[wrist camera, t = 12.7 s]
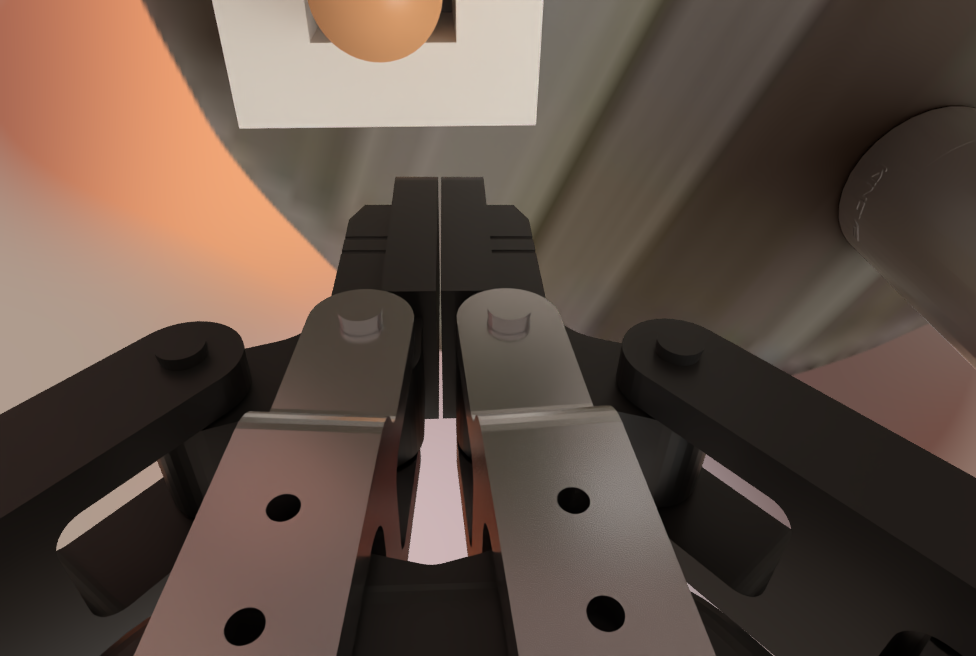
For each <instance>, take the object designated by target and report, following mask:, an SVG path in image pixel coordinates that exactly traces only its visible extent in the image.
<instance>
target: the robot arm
mask: <svg viewBox="0 0 976 656" xmlns="http://www.w3.org/2000/svg"><path fill="white" fill-rule="evenodd" d="M839 222H840V226H841V230H842V233H843V234H844V236H845V238H846V239H847V241H848V242H849V243H850V244H851V245H852V246H853V247H854V248H855V249H856V250H857V251H858V252H859V253H860V254H861V255H862V256H863V257H864V258H865V259H866V260H867V261H868V262H869V263H870V264H871V265H872V266H873V267H874V268H875V269H876V270H877V271H878V272H879V273H880V274H881V275H882V276H883V277H884V279H885V280H886V281H887V282H888V283H889V284H890V285H891V286H892V287H893V288H894V289H895V290H896V291H897V292H898V293H899V294H900V295H901V296H902V297H903V298H904V299H905V300H906V301H907V302H908V303H909V304H910V305H911V306H912V307H913V308H914V309H915V310H916V311H917V312H918V313H919V314H920V315H921V316H922V317H923V318H924V319H925V320H926V321H927V322H928V323H929V324H930V325H932V327H934V329H936V330H937V331H938V333H940V335H941V336H943V337H944V338H945V339H946V340H947V341H948V342H949V343H950V344H951V345H952V346H953V347H954V348H955V349H956V350H957V351H958V352H959V353H960V354H961V355H962V356H963V357H964V358H965V359H966V360H967V361H968V362H969V363H970V364H971V365H972V366H973V367H974V368H975V369H976V109H975V108H971V107H954V106H950V107H945V108H940V109H935V110H931V111H928V112H925V113H923V114H920V115H918V116H915V117H913V118H911V119H909V120H907V121H905V122H904V123H902V124H900V125H899V126H897V127H895V128H893V129H892V130H891V131H890V132H888V133H887V134H886V135H884V136H883V137H882V138H881V139H879V140H878V141H877V142H876V143H875V144H874V145H873V146H872V147H871V148H870V149H869V150H868V151H867V152H866V153H865V154H864V155H863V156H862V158H861V159H860V161H859V162H858V163H857V165H856V166H855V168H854V169H853V171H852V172H851V174H850V176H849V178H848V180H847V182H846V184H845V186H844V188H843V192H842V196H841V199H840V203H839ZM439 306H440V269H439V209H438V177H396V178H395V184H394V192H393V199H392V205H365V206H364V207H362V208H361V209H360V210H359V211H358V212H357V213H356V214H355V215H354V216H353V217H352V218H351V219H349V223H348V227H347V232H346V236H345V240H344V245H343V249H342V254H341V257H340V262H339V266H338V270H337V274H336V279H335V283H334V287H333V291H332V296H331V297H329V298H326V299H325V300H323V301H321V302H320V303H319V304H317V305H316V306H315V307H314V309H313V310H312V311H311V312H310V314H309V316H308V318H307V320H306V323H305V325H304V328H303V330H302V333H301V334H299V335H297V336H294V337H291V338H289V339H286V340H282V341H278V342H274V343H269V344H265V345H260V346H255V347H251V348H246V349H245V348H244V344H243V341H242V338H241V337H240V335H239V334H238V333H237V332H236V331H235V330H233V329H232V328H230V327H228V326H226V325H222V324H219V323H214V322H200V321H197V322H187V323H181V324H176V325H172V326H169V327H166V328H163V329H161V330H158V331H155V332H153V333H151V334H149V335H147V336H146V337H144V338H142V339H140V340H138V341H136V342H134V343H132V344H131V345H129V346H127V347H125V348H123V349H121V350H119V351H118V352H116V353H114V354H112V355H110V356H108V357H106V358H105V359H103V360H101V361H99V362H97V363H95V364H93V365H92V366H90V367H88V368H86V369H84V370H82V371H80V372H79V373H77V374H75V375H73V376H71V377H69V378H67V379H66V380H64V381H62V382H60V383H58V384H56V385H54V386H52V387H51V388H49V389H47V390H45V391H43V392H41V393H39V394H38V395H36V396H34V397H32V398H30V399H28V400H26V401H25V402H23V403H21V404H19V405H17V406H15V407H13V408H11V409H10V410H8V411H6V412H4V413H2V414H0V656H773V655H775V656H976V478H975V477H973V476H971V475H970V474H968V473H966V472H964V471H962V470H961V469H959V468H957V467H955V466H953V465H951V464H950V463H948V462H946V461H944V460H943V459H941V458H939V457H937V456H935V455H933V454H931V453H930V452H928V451H926V450H925V449H923V448H921V447H919V446H917V445H916V444H914V443H912V442H910V441H908V440H906V439H905V438H903V437H901V436H899V435H897V434H896V433H894V432H892V431H890V430H888V429H887V428H885V427H883V426H881V425H879V424H877V423H876V422H874V421H872V420H870V419H869V418H866V417H865V416H863V415H861V414H860V413H858V412H856V411H854V410H852V409H850V408H849V407H847V406H845V405H843V404H841V403H840V402H838V401H836V400H834V399H833V398H831V397H829V396H827V395H825V394H823V393H822V392H820V391H818V390H816V389H814V388H812V387H811V386H809V385H807V384H805V383H803V382H802V381H800V380H798V379H796V378H794V377H793V376H791V375H789V374H787V373H786V372H784V371H782V370H780V369H778V368H777V367H775V366H773V365H771V364H769V363H768V362H766V361H764V360H762V359H760V358H759V357H757V356H755V355H753V354H751V353H749V352H748V351H746V350H744V349H742V348H740V347H739V346H737V345H735V344H733V343H731V342H730V341H728V340H726V339H724V338H722V337H721V336H719V335H717V334H715V333H713V332H712V331H710V330H708V329H706V328H704V327H702V326H699V325H696V324H693V323H690V322H686V321H682V320H676V319H654V320H648V321H644V322H641V323H639V324H637V325H635V326H633V327H632V328H631V329H629V330H628V332H627V333H626V334H625V336H624V338H623V341H622V343H617V342H612V341H607V340H602V339H597V338H593V337H589V336H586V335H583V334H580V333H578V332H575V331H573V330H571V329H569V328H568V327H566V326H564V324H563V321H562V319H561V316H560V313H559V312H558V310H557V308H556V307H555V306H554V305H553V304H552V303H551V302H550V301H548V300H547V299H546V298H545V293H544V289H543V284H542V279H541V275H540V270H539V265H538V261H537V256H536V253H535V247H534V242H533V239H532V233H531V228H530V223H529V219H528V218H527V217H525V216H524V215H523V214H522V213H521V212H520V211H519V210H518V209H517V208H516V207H515V206H514V205H486V197H485V188H484V179H483V177H442V178H441V319H442V380H443V418H456V433H457V469H458V478H459V486H460V494H461V503H462V511H463V519H464V527H465V535H466V544H467V553H468V557H465V558H461V559H458V560H454V561H450V562H446V563H442V564H437V565H426V564H419V563H415V562H410V561H408V554H409V546H410V539H411V532H412V523H413V517H414V509H415V502H416V494H417V487H418V478H419V472H420V463H421V454H420V447H421V446H422V443H423V440H424V424H425V423H424V422H425V419H438V418H439ZM706 454H707V455H708V456H710V457H712V458H713V459H714V460H716V461H717V462H719V463H720V464H722V465H723V466H724V467H726V468H727V469H729V470H731V471H732V472H733V473H735V474H736V475H738V476H739V477H741V478H742V479H743V480H745V481H746V482H748V483H749V484H751V485H752V486H754V487H755V488H757V489H758V490H759V491H761V492H763V493H764V494H765V495H767V496H768V497H770V498H771V499H772V500H774V501H775V502H776V503H777V504H778V505H779V506H780V507H781V508H782V510H783V511H784V513H785V514H786V516H787V518H788V520H789V522H790V525H791V529H790V528H788V527H787V526H785V525H784V524H782V523H781V522H780V521H778V520H777V519H775V518H774V517H772V516H771V515H769V514H768V513H766V512H765V511H764V510H762V509H761V508H759V507H758V506H757V505H755V504H754V503H752V502H751V501H750V500H748V499H747V498H745V497H744V496H742V495H741V494H740V493H738V492H737V491H735V490H733V489H732V488H731V487H730V486H728V485H727V484H725V483H724V482H722V481H721V480H720V479H718V478H717V477H715V476H714V475H712V474H711V473H710V472H708V471H707V470H705V469H704V468H703V467H702V464H703V461H704V458H705V455H706ZM156 461H157V462H158V464H159V467H160V468H161V472H162V474H163V478H162V479H160V480H159V481H157V482H156V483H155V484H153V485H152V486H150V487H149V488H148V489H146V490H145V491H143V492H142V493H140V494H139V495H138V496H136V497H135V498H133V499H132V500H130V501H129V502H128V503H126V504H125V505H123V506H122V507H121V508H119V509H118V510H116V511H115V512H114V513H112V514H111V515H109V516H108V517H106V518H105V519H103V520H102V521H101V522H99V523H98V524H96V525H95V526H94V527H92V528H91V529H90V530H88V531H87V532H85V533H84V534H82V535H81V536H79V537H78V538H77V539H75V540H74V541H72V542H71V543H69V544H68V545H66V546H65V547H63V548H62V549H59V550H57V551H56V546H57V542H58V539H59V537H60V535H61V533H62V531H63V530H64V528H65V527H66V526H67V524H68V523H69V522H70V521H71V520H72V519H73V518H74V517H75V516H77V515H78V514H79V513H81V512H82V511H83V510H85V509H86V508H88V507H90V506H91V505H92V504H94V503H95V502H97V501H98V500H100V499H101V498H103V497H104V496H106V495H107V494H109V493H110V492H112V491H113V490H114V489H116V488H117V487H119V486H120V485H122V484H123V483H125V482H126V481H128V480H129V479H131V478H132V477H134V476H135V475H136V474H138V473H139V472H141V471H142V470H144V469H145V468H147V467H148V466H150V465H151V464H153V463H154V462H156ZM687 583H688V584H690V585H691V586H692V587H693V588H694V589H696V590H697V591H698V592H699V593H700V594H701V595H703V596H704V597H705V598H706V599H707V600H709V601H710V602H711V603H712V604H713V605H715V606H716V607H717V608H718V609H717V608H716V607H714V606H713V605H712V604H710V603H709V602H707V601H706V600H704V599H703V598H701V597H699V596H698V595H696V594H694V593H692V592H691V591H690V590H689V587H688V585H687ZM720 610H721V611H720ZM744 630H745V631H744ZM750 635H751V636H752V637H753V638H754V639H753V638H752V637H751V636H750ZM756 640H757V641H758V642H759V643H760V644H761V645H763V646H764V647H765V648H766V649H767V650H769V651H770V652H771V653H772V654H773V655H772V654H770V653H769V652H768V651H767V650H766V649H765V648H764V647H763V646H761V645H760V644H759V643H758V642H757V641H756Z"/></svg>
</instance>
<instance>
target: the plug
mask: <svg viewBox="0 0 976 656" xmlns="http://www.w3.org/2000/svg"><path fill="white" fill-rule="evenodd" d="M442 1H443V0H308V4H309V7H310V10H311V13H312V15H313V17H314V19H315V21H316V23H317V25H318V26H319V28H320V29H321V31H322V32H323V33H324V35H325V36H326V37H327V38H328V39H329V40H330V41H331V42H332V43H333V44H334V45H335V46H337V47H338V48H339V49H340V50H342V51H344V52H345V53H347V54H349V55H351V56H353V57H355V58H358V59H361V60H364V61H369V62H391V61H395V60H399V59H402V58H404V57H407V56H408V55H410V54H412V53H414V52H415V51H416V50H417V49H419V48H420V47H421V46H422V45H423V44H424V43H425V42H426V41H427V40H428V38H429V37H430V35H431V34H432V32H433V31H434V29H435V27H436V25H437V22H438V20H439V17H440V13H441V8H442Z"/></svg>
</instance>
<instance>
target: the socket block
mask: <svg viewBox="0 0 976 656" xmlns="http://www.w3.org/2000/svg"><path fill="white" fill-rule="evenodd" d="M543 1H544V0H443V1H442V8H441V13H440V17H439V20H438V22H437V25H436V27H435V29H434V31H433V32H432V34H431V35H430V37H429V38H428V40H427V41H426V42H425V43H424V44H423V45H422V46H421V47H420V48H419V49H417V50H416V51H415V52H414V53H412V54H410V55H408V56H407V57H404V58H402V59H399V60H395V61H391V62H369V61H364V60H361V59H358V58H355V57H353V56H351V55H349V54H347V53H345V52H344V51H342V50H340V49H339V48H338V47H337V46H335V45H334V44H333V43H332V42H331V41H330V40H329V39H328V38H327V37H326V36H325V35H324V33H323V32H322V31H321V29H320V28H319V26H318V25H317V23H316V21H315V19H314V17H313V15H312V13H311V10H310V7H309V4H308V0H212V3H213V7H214V12H215V17H216V21H217V26H218V31H219V35H220V40H221V45H222V49H223V54H224V59H225V63H226V68H227V73H228V78H229V82H230V87H231V92H232V96H233V101H234V106H235V110H236V115H237V120H238V124H239V128H326V127H414V126H502V125H536V115H537V98H538V82H539V66H540V50H541V33H542V17H543Z"/></svg>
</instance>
